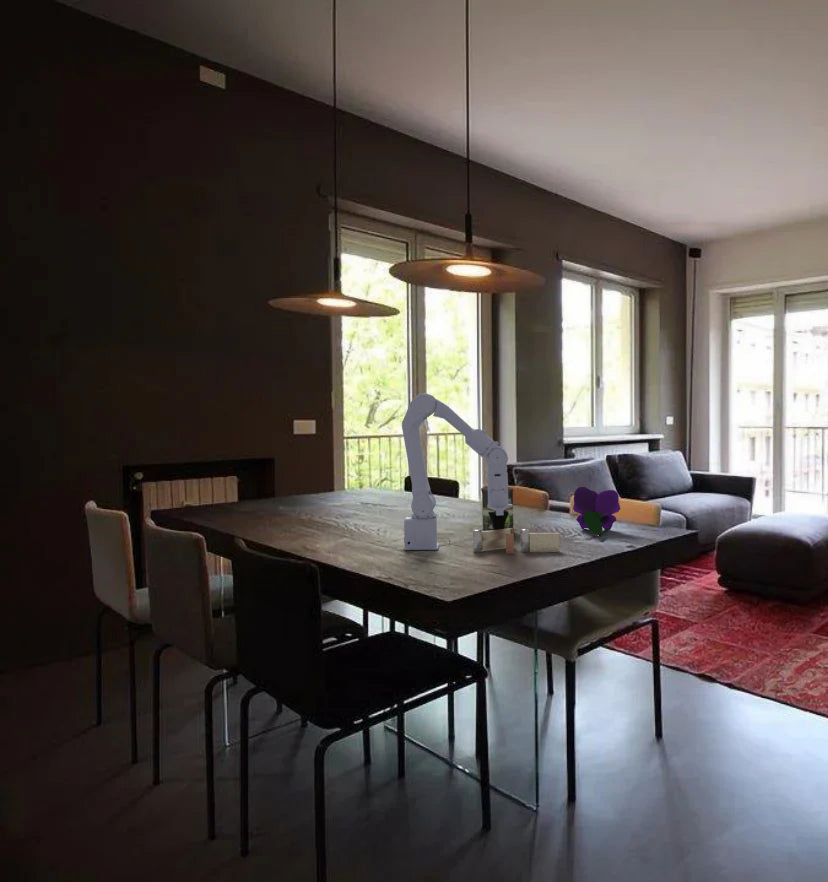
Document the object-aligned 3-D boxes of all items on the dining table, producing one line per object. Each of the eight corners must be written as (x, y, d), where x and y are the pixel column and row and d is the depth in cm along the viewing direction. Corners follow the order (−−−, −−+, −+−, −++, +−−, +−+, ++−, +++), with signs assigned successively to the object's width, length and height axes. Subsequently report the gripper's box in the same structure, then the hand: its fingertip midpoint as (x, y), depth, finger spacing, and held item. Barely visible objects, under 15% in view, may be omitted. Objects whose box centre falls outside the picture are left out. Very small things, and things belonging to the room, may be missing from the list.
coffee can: (518, 533, 201) (518, 489, 201) (487, 535, 199) (486, 490, 199) (507, 528, 211) (506, 485, 211) (477, 530, 209) (476, 487, 209)
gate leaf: (483, 550, 176) (483, 532, 176) (480, 549, 177) (480, 531, 177) (514, 546, 180) (513, 528, 180) (511, 545, 182) (510, 528, 181)
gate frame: (473, 553, 174) (472, 531, 174) (473, 550, 177) (472, 529, 177) (560, 553, 172) (559, 530, 172) (558, 550, 175) (558, 528, 175)
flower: (624, 552, 195) (618, 525, 206) (627, 512, 187) (621, 486, 199) (574, 551, 197) (571, 524, 209) (575, 512, 190) (572, 486, 201)
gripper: (514, 492, 173) (515, 541, 173) (510, 485, 187) (511, 531, 188) (487, 492, 173) (489, 542, 174) (485, 486, 188) (487, 532, 188)
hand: (498, 536), depth 181 cm, fingers closed, pressing on gate leaf
